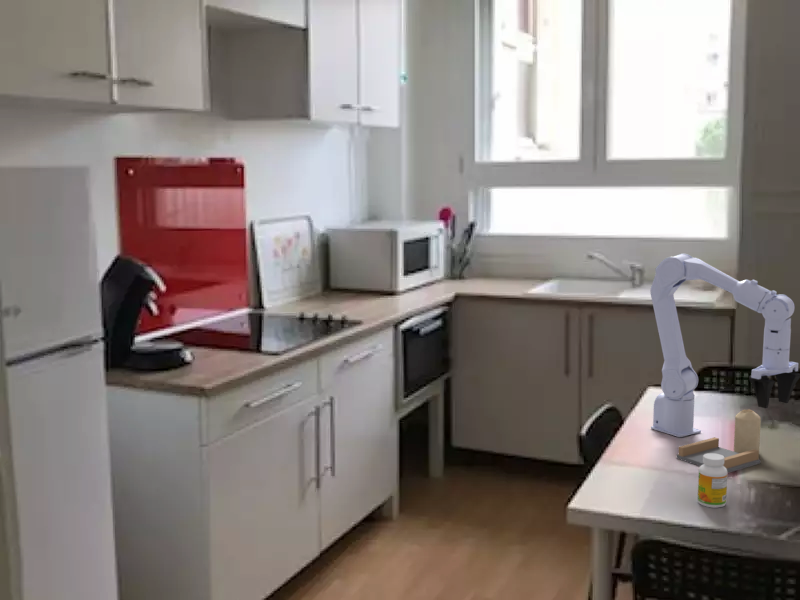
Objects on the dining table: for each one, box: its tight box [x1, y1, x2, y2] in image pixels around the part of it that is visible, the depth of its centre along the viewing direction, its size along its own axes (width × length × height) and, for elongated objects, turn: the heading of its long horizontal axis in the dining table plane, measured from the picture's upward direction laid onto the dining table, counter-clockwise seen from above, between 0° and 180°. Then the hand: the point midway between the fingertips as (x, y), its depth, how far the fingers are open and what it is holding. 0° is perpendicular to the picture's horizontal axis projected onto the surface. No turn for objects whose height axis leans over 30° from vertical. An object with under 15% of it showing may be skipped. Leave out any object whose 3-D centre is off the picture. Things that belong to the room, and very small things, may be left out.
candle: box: [733, 408, 762, 453], centre depth 213 cm, size 6×6×10 cm
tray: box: [676, 437, 761, 474], centre depth 208 cm, size 13×12×3 cm
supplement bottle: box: [697, 453, 728, 509], centre depth 183 cm, size 5×5×10 cm
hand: (773, 404), depth 216 cm, fingers open, 7 cm apart
